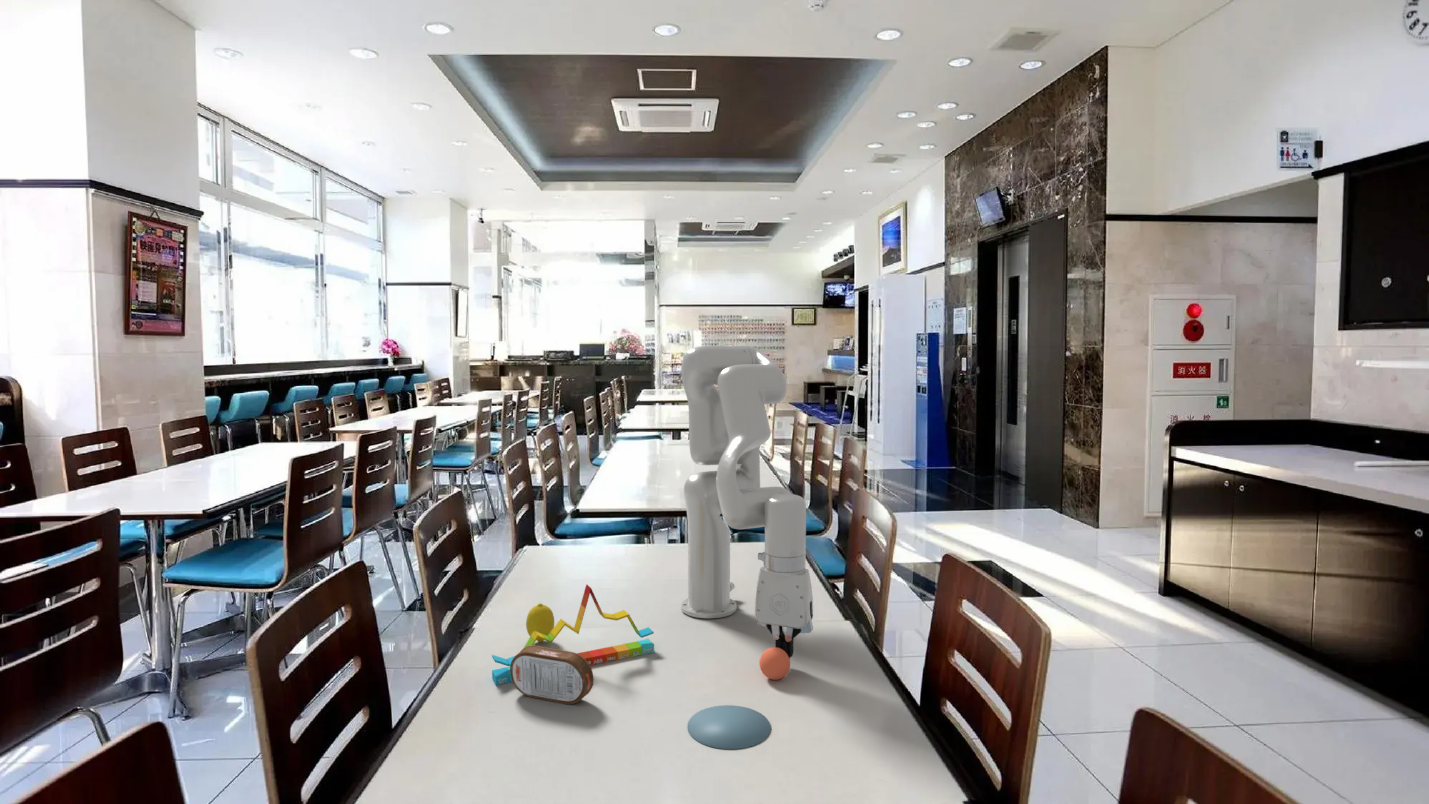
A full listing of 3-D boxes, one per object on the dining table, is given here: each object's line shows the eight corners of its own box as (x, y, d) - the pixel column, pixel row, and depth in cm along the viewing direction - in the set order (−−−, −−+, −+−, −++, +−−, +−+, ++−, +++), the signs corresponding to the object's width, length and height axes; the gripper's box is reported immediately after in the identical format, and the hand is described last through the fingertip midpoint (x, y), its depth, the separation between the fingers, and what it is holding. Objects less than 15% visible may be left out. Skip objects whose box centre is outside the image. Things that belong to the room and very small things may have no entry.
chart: (495, 687, 128) (494, 604, 127) (492, 680, 131) (490, 598, 130) (654, 654, 143) (654, 579, 142) (648, 648, 145) (648, 574, 144)
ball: (764, 638, 134) (754, 657, 129) (793, 644, 132) (784, 664, 127) (766, 662, 136) (756, 682, 131) (794, 668, 134) (785, 689, 129)
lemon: (547, 648, 144) (547, 609, 143) (521, 646, 145) (521, 607, 145) (559, 638, 149) (558, 599, 149) (533, 635, 150) (533, 597, 150)
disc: (710, 699, 123) (710, 698, 123) (782, 717, 118) (782, 716, 117) (672, 736, 112) (672, 735, 112) (750, 757, 106) (750, 756, 106)
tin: (594, 701, 123) (594, 652, 122) (585, 710, 120) (585, 660, 119) (518, 687, 128) (517, 640, 127) (507, 695, 125) (506, 647, 124)
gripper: (739, 562, 134) (739, 659, 135) (818, 572, 128) (817, 674, 129) (754, 552, 141) (754, 645, 142) (830, 561, 135) (829, 658, 136)
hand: (784, 658), depth 135 cm, fingers closed
